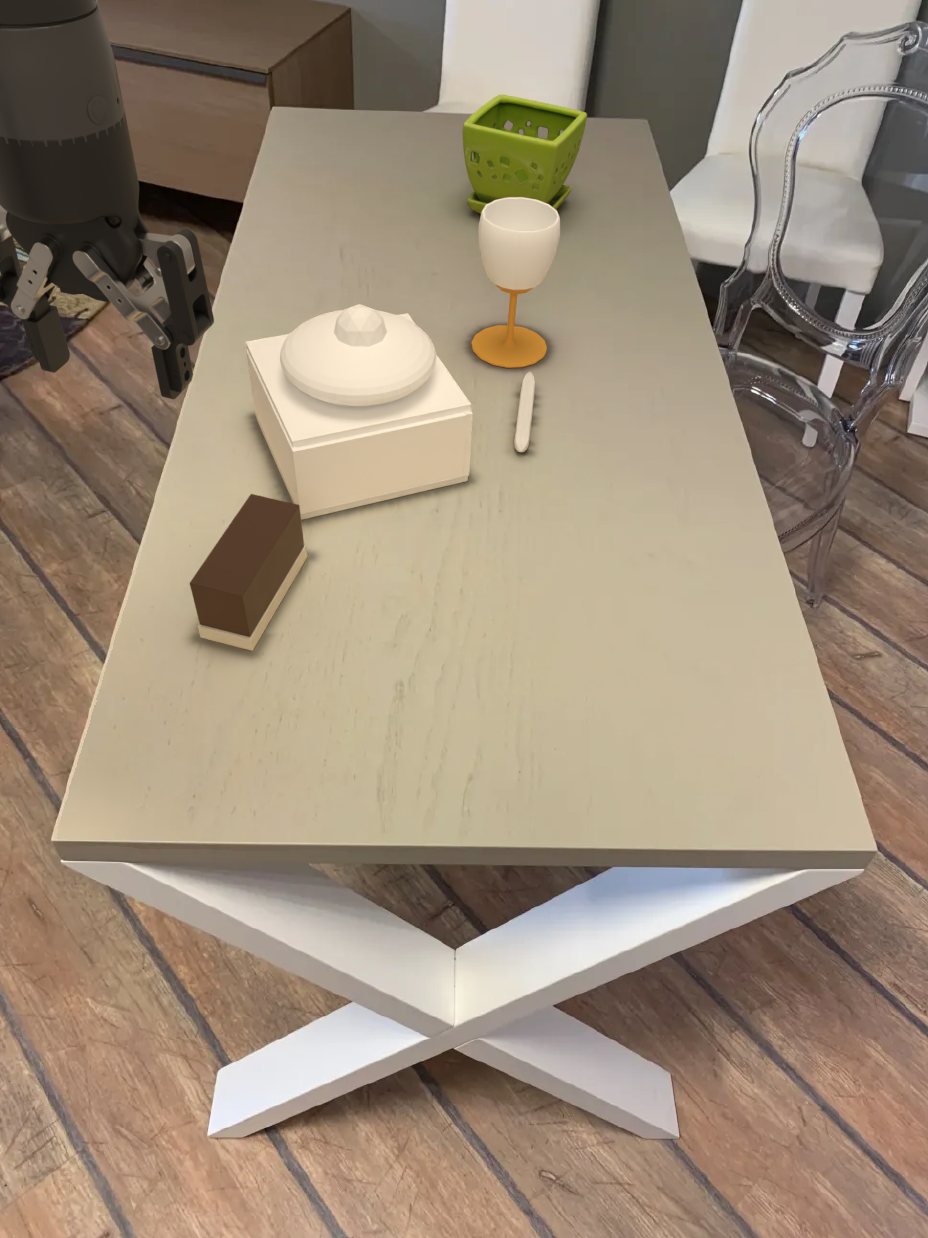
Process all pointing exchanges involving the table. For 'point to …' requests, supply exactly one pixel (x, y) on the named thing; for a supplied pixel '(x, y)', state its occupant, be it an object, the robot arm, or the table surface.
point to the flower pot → (521, 150)
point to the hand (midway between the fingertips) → (115, 378)
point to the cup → (515, 272)
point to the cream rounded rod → (525, 413)
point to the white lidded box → (358, 410)
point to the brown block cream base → (249, 572)
